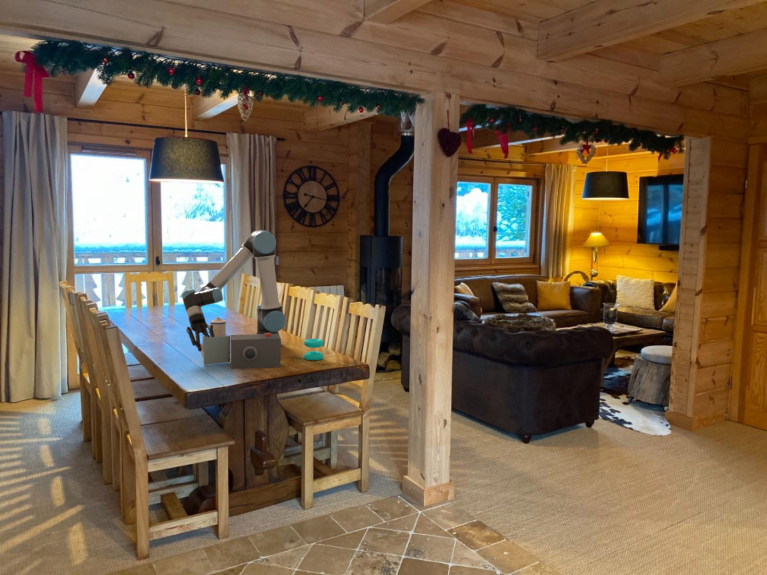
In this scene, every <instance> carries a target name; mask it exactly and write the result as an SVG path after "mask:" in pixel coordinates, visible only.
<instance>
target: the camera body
mask: <svg viewBox="0 0 767 575" xmlns="http://www.w3.org/2000/svg"><path fill="white" fill-rule="evenodd" d="M279 335H280V333H279V334H271V333H264V334H256V333H255V334H253V333H252V334H251V333H249V334H230V368H231V369H232V370H234V369H235V370H238V369H239V370H241V369H242V370H243V369H260V368H261V369H262V368H264V369H265V368H269V369H270V368H281V364H282V363H281V353H282V352H281V349H282V348H281V346H282V340H281V339H282V338H281V336H279Z"/></svg>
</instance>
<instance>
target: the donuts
mask: <svg viewBox="0 0 767 575" xmlns="http://www.w3.org/2000/svg"><path fill="white" fill-rule="evenodd" d="M303 344H304V346H305V347H307V348H311V349H318V348H321V347H322V346H323V345H324V344H325V343H324V340H323V339H320V338H308V339H305V340H304V341H303ZM303 358H304V360H306V361H309V360H318V361H321V360H322V359H324V354H323V353H322V352H321V351H316V350H310V351H307V352H305V353H304V355H303Z"/></svg>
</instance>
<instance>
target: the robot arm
mask: <svg viewBox="0 0 767 575" xmlns="http://www.w3.org/2000/svg"><path fill="white" fill-rule="evenodd" d="M276 245H277V240H276V237H275V236H274V234H272V233H271V232H270V231H268V230H263V229H259V230H254V231H253V232H252V233H250V235H249V236H248V237H247V238H246V240H245V241H243V243H242V244H241V247H240V248H239V250H238V251H237V252H236V253H235V254H234V255H233V256H232V257H231V258H230V260H228V262H227V263H225V265H224V266H223V267H222V268H220V270H219V271H218V272H216V274H215V275H214V276H213V277H212V278H211V279H210V280H209V282H208V283H207V284H205V285H204V286H202V287H201V289H200V290H199V291H198V292H197V291H196V290H195V289H193V288H192V289H186V290H184V292H182V295H181V297H182V298H181V299H182V302H183V306H184V308H185V312H186V315H187V317H188V321H189V324H190V326H187V327H186V329H185V331H186V333H187V334H188V337H189V339H190V342H191V346H195V347H196V348H197V351H198V352H200V354H201V358H202V359H204V350H203V343H201V336H200V335H201V334H202V335H203V336H207V337H215V335H214V332H213V325H211V324H208V323H207V321H206V318H205V316H204V312H203V309H202V307H205V306H209V305H212V304H213V305H214V304H217V303H220V302H223V300H224V297H223V292H222V290H223V288H224V287H225V286H226V285H227V284H228V283H229V282H230V281H232V279H233V278H234V277H235V276H236V275H237V274H238V273H239V271H241V269H243V267H245V266H246V264H248V262H249V261H250V260H251V259H252V258H254V259H255V260H256V263H257V269H258V270H257V271H258V275H259V276H258V277H259V285H260V292H261V301H262V304H258V305H257V308H256V314H257V316H256V321H257V322H256V325H257V326H256V333H255V334H264V333H271V334H279V336H280V333H279V332H280V331H282V330H283V328H284V327H285V326H286V323H287V320H286V315H285V314H284V310H283V304H282V303H281V302H280V301H279V291H278V285H277V284H278V283H277V277H276V269H275V268H276V267H275V261H274V259H275V257H276V255H277V254H276ZM209 325H211V326H209ZM206 328H207V329H206ZM207 331H208V332H209V333H208V332H207ZM194 333H195V334H194ZM280 337H281V336H280Z"/></svg>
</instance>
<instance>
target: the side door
mask: <svg viewBox="0 0 767 575" xmlns="http://www.w3.org/2000/svg"><path fill="white" fill-rule="evenodd" d="M202 345H203V350H204V358H203V365H204V366H207V365H215V364H225V363H231V335H226V336H219V337H207V336H204V335H203V336H202Z"/></svg>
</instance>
